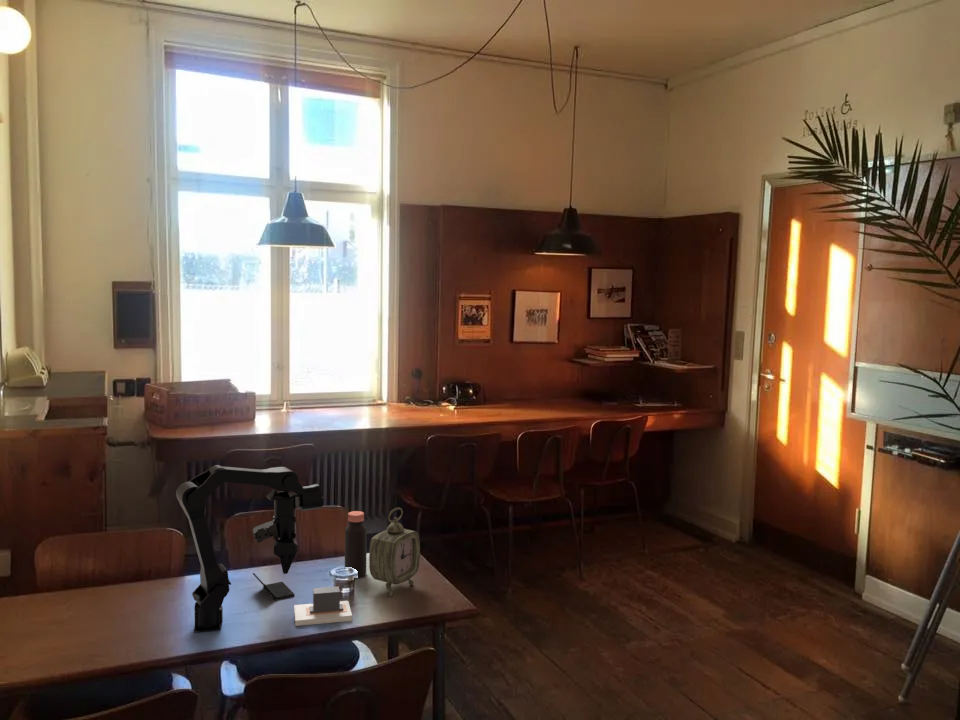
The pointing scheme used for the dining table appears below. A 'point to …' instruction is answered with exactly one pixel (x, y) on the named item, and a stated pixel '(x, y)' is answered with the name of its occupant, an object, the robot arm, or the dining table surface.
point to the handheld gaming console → (277, 590)
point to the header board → (321, 614)
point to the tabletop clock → (394, 554)
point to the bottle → (356, 543)
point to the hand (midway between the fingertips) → (284, 567)
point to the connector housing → (326, 598)
